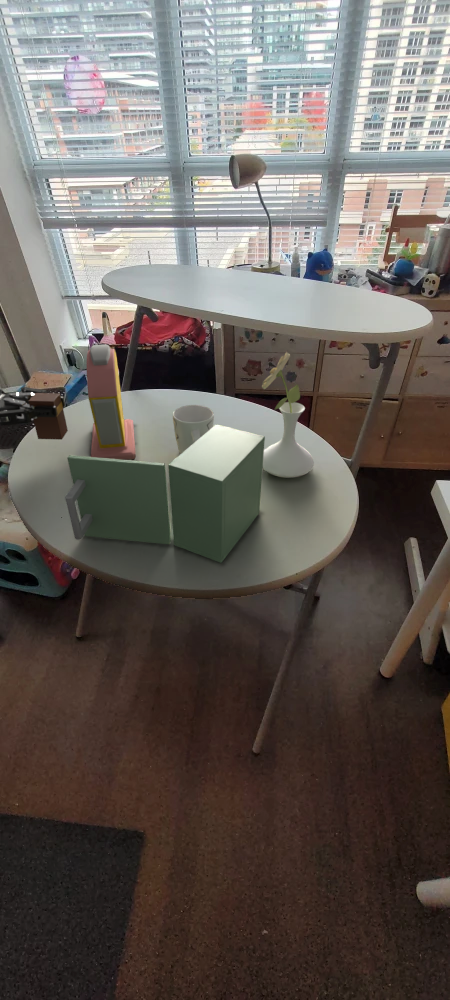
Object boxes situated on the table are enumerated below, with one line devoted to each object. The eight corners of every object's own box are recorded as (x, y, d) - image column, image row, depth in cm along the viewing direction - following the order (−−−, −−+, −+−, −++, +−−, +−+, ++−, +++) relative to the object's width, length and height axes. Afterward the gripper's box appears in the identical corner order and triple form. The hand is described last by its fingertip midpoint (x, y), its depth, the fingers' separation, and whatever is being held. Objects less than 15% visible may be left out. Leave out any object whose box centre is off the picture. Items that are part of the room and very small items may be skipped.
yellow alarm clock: (94, 422, 111) (79, 332, 98) (133, 419, 113) (122, 330, 100) (91, 470, 94) (71, 368, 81) (136, 466, 95) (124, 366, 83)
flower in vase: (283, 448, 102) (294, 335, 87) (324, 469, 95) (343, 350, 80) (241, 469, 95) (245, 350, 80) (281, 493, 88) (294, 368, 73)
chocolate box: (37, 439, 94) (27, 400, 89) (44, 430, 98) (35, 392, 93) (62, 439, 94) (53, 401, 89) (68, 430, 98) (60, 393, 93)
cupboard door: (162, 566, 72) (154, 485, 62) (72, 556, 73) (52, 476, 64) (171, 541, 76) (164, 462, 67) (86, 533, 78) (69, 454, 69)
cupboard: (173, 545, 76) (167, 464, 67) (216, 499, 87) (216, 424, 77) (221, 563, 73) (222, 481, 63) (259, 513, 83) (265, 436, 74)
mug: (218, 471, 94) (218, 428, 88) (177, 474, 93) (175, 431, 87) (211, 444, 103) (210, 403, 97) (173, 447, 102) (171, 405, 96)
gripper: (-48, 401, 84) (44, 403, 84) (-13, 373, 96) (67, 375, 96) (-35, 437, 89) (52, 439, 89) (-3, 406, 100) (74, 408, 100)
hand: (59, 406), depth 92 cm, fingers closed on chocolate box, 4 cm apart
